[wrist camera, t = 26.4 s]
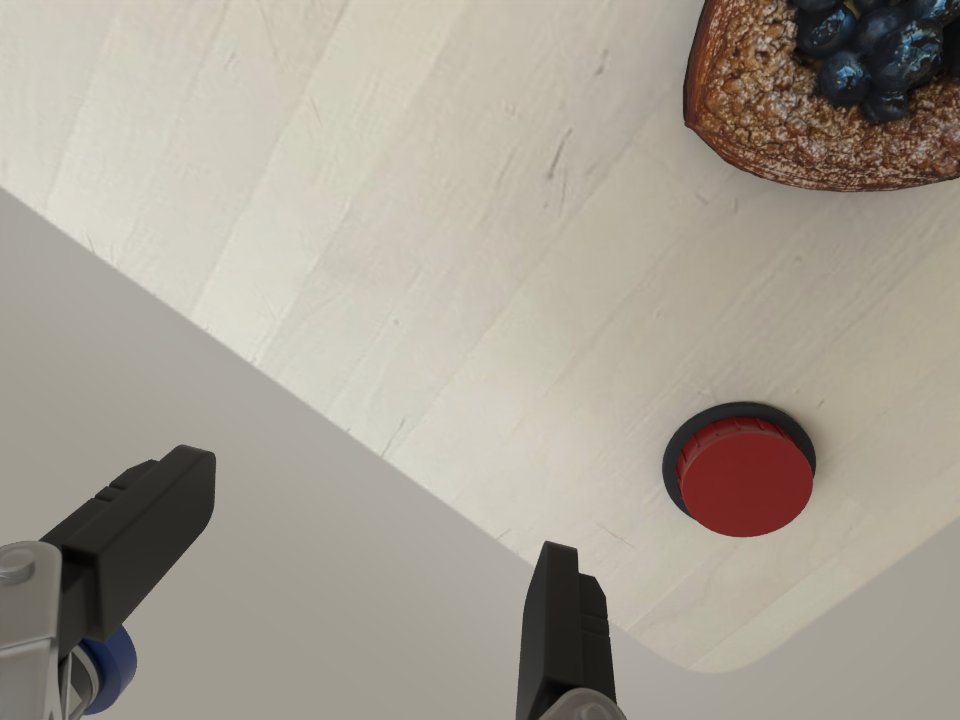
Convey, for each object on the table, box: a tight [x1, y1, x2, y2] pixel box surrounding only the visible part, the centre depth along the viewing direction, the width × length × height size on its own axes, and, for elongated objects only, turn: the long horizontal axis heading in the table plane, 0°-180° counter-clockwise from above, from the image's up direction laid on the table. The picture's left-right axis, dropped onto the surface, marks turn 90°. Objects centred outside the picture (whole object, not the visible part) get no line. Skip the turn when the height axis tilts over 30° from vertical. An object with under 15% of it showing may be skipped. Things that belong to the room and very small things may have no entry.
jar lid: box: [675, 417, 813, 537], centre depth 27 cm, size 6×6×2 cm
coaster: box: [662, 402, 816, 520], centre depth 28 cm, size 7×7×1 cm
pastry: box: [683, 0, 960, 192], centre depth 18 cm, size 11×12×6 cm
